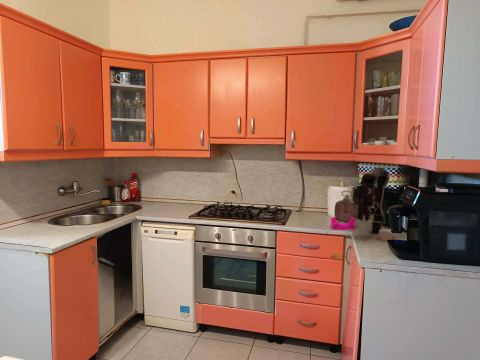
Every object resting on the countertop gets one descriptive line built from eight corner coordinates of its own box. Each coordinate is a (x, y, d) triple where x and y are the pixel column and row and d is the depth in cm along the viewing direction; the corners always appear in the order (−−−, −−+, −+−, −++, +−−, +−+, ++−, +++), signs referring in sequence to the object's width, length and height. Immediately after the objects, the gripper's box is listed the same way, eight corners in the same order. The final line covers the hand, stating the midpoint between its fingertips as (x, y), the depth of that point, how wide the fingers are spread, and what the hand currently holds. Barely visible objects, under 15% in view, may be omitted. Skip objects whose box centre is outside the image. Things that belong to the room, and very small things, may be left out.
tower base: (380, 237, 193) (380, 232, 193) (396, 240, 187) (396, 235, 187) (375, 240, 186) (375, 235, 186) (391, 243, 180) (391, 238, 180)
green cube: (365, 220, 192) (366, 213, 191) (373, 221, 188) (373, 214, 188) (362, 222, 188) (363, 214, 188) (370, 223, 185) (370, 215, 185)
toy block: (332, 230, 210) (332, 218, 209) (330, 227, 216) (331, 217, 215) (355, 230, 208) (355, 219, 207) (353, 228, 214) (354, 217, 213)
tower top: (381, 233, 191) (381, 228, 190) (394, 235, 187) (394, 230, 186) (378, 235, 185) (379, 230, 185) (391, 237, 181) (392, 232, 181)
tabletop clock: (334, 226, 220) (334, 190, 218) (337, 223, 228) (337, 189, 226) (355, 228, 213) (356, 191, 211) (358, 225, 221) (359, 190, 218)
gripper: (361, 191, 199) (361, 216, 201) (349, 194, 185) (348, 220, 187) (380, 193, 192) (379, 218, 193) (368, 196, 178) (367, 223, 179)
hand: (368, 220), depth 188 cm, fingers closed on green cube, 4 cm apart
